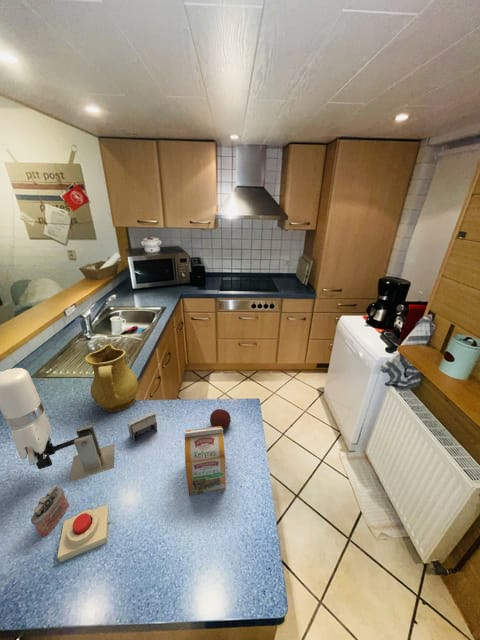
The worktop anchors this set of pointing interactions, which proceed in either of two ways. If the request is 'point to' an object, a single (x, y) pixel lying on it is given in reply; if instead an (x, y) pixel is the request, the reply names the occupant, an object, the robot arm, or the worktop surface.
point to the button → (82, 523)
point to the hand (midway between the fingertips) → (47, 460)
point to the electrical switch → (142, 425)
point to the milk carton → (205, 460)
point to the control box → (84, 534)
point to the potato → (220, 418)
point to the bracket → (90, 455)
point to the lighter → (50, 511)
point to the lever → (64, 444)
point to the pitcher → (112, 379)
